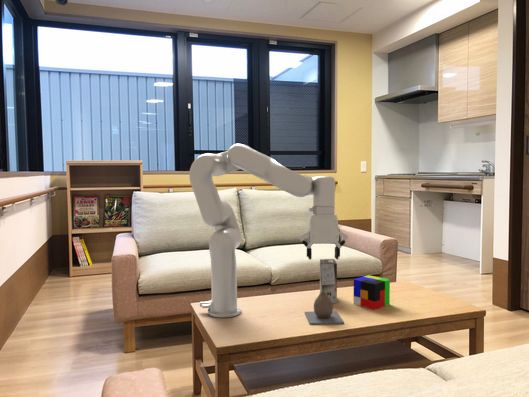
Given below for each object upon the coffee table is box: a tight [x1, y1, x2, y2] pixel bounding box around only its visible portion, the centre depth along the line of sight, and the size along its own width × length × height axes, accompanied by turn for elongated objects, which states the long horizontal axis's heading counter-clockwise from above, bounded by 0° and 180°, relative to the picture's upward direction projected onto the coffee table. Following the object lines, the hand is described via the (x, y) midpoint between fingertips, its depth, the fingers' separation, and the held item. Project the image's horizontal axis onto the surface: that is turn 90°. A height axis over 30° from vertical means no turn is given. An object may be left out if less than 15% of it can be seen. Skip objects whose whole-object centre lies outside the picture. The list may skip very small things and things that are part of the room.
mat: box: [304, 310, 345, 326], centre depth 151 cm, size 12×12×1 cm
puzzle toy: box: [353, 274, 391, 311], centre depth 167 cm, size 10×10×10 cm
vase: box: [313, 291, 334, 319], centre depth 151 cm, size 7×7×9 cm
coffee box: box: [319, 258, 338, 304], centre depth 173 cm, size 9×6×16 cm
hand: (323, 258), depth 150 cm, fingers open, 9 cm apart
